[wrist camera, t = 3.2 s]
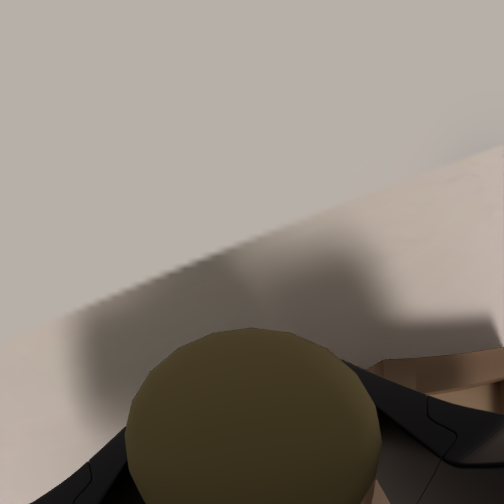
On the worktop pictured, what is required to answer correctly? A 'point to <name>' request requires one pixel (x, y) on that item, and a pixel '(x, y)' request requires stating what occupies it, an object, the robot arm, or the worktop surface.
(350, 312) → the worktop surface
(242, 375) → the cork
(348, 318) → the worktop surface
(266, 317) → the worktop surface
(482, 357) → the socket block
